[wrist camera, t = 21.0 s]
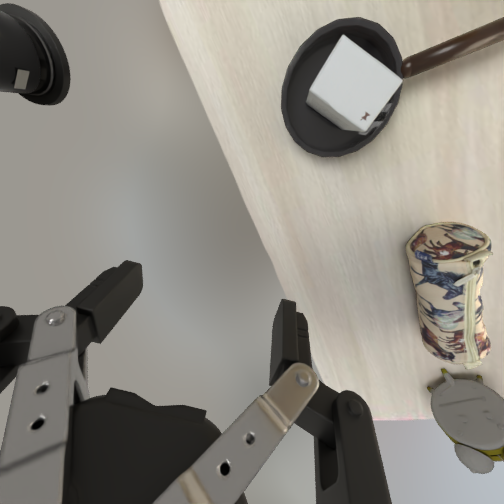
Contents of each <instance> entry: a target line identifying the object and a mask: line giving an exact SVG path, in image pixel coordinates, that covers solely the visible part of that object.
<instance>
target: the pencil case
mask: <svg viewBox="0 0 504 504" xmlns="http://www.w3.org/2000/svg"><path fill="white" fill-rule="evenodd" d="M490 251H491V240H490V239H489V237H488V236H487V235H486V234H484V233H483V232H481V231H480V230H478V229H476V228H474V227H471V226H469V225H466V224H462V223H456V222H443V223H436V224H432V225H426V226H424V227H422V228H421V229H420V230H419V231H418V232H417V233H416V234H415V235H414V236H413V237H412V238H411V239H410V240H409V241H408V243H407V244H406V253H407V257H408V259H409V266H410V272H411V275H412V279H413V283H414V287H415V291H416V298H417V308H418V314H419V322H420V330H421V335H422V341H423V344H424V346H425V348H426V349H427V350H428V351H429V352H430V353H431V354H433V355H434V356H435V357H437V358H439V359H441V360H443V361H445V362H448V363H452V364H463V365H464V366H465V367H466V368H465V369H466V370H470V369H473V368H475V367H478V366H479V365H481V364H482V363H481V361H480V359H482V358H484V357H485V356H486V355H488V353H489V352H490V350H491V343H490V340H489V338H488V336H487V334H486V333H487V332H486V328H485V325H484V323H483V320H482V312H483V304H482V299H481V296H480V288H481V287H482V277H483V263H484V262H485V261H486V260H487V258H488V256H489V255H493V253H492V252H490Z"/></svg>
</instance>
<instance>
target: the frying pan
mask: <svg viewBox="0 0 504 504" xmlns="http://www.w3.org/2000/svg"><path fill="white" fill-rule="evenodd" d="M342 35H345V36H346V37H347V38H349V39H350V40H351V41H353V42H354V43H355V44H357V45H358V46H359V47H360V48H362V49H363V50H364V51H366V52H367V53H368V54H370V55H371V56H372V57H374V58H375V59H377V60H378V61H379V62H381V63H382V64H383V65H385V66H386V67H387V68H388V69H390V70H391V71H392V72H393V73H395V74H396V75H397V76H398V77H400V78H401V79H402V80H403V75H402V73H401V66H402V57H401V54H400V52H399V50H398V47H397V45H396V42H395V40H394V38H393V37H392V36H391V35H390V34H389V33H388V32H387V31H386V30H385V29H384V28H383V27H382V26H381V25H380V24H378V23H376V22H373V21H370V20H367V19H364V18H361V17H355V18H345V19H338V20H335V21H333V22H331V23H329V24H327V25H325V26H323V27H321V28H319V29H318V30H316V31H315V32H314V33H313V34H312V35H311V36H310V37H309V38H308V39H307V40H306V41H305V42H304V43H303V44H302V45H301V46H300V47H299V49H298V51H297V52H296V54H295V56H294V57H293V59H292V61H291V62H290V64H289V66H288V68H287V72H286V75H285V79H284V82H283V86H282V97H281V110H282V114H283V118H284V122H285V126H286V128H287V130H288V132H289V133H290V135H291V136H292V138H293V140H294V141H295V142H296V143H297V144H298V145H299V146H301V147H302V148H303V149H304V150H306V151H307V152H309V153H312V154H315V155H318V156H321V157H340V156H343V155H346V154H349V153H353V152H356V151H358V150H359V149H360V148H362V147H363V146H365V145H366V144H368V143H369V142H371V141H372V140H374V138H375V137H376V136H377V135H378V134H379V133H380V132H381V131H382V129H383V128H384V127H385V126H386V125H387V123H388V122H389V120H390V118H391V116H392V114H393V112H394V110H395V108H396V107H397V105H398V102H399V97H400V93H401V89H402V85H403V82H402V84H401V85H400V86H399V88H398V89H397V90H396V92H395V93H394V94H393V95H392V97H391V98H390V100H389V101H388V102H387V104H386V105H385V106H384V108H383V109H382V110H381V112H380V113H379V114H378V116H377V117H376V118H375V120H374V121H373V122H372V124H371V125H370V126H369V128H368V129H367V131H365V132H360V131H351V130H342V129H340V128H339V127H338V126H336V125H335V124H334V123H332V122H331V121H329V120H328V119H327V118H325V117H324V116H322V115H321V114H320V113H318V112H317V111H316V110H314V109H313V108H312V107H310V106H309V105H307V104H306V101H307V97H308V94H309V89H310V87H311V86H312V84H313V82H314V80H315V79H316V77H317V75H318V74H319V72H320V70H321V69H322V67H323V65H324V64H325V62H326V61H327V59H328V57H329V56H330V54H331V52H332V51H333V49H334V47H335V46H336V44H337V43H338V41H339V39H340V38H341V36H342Z"/></svg>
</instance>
